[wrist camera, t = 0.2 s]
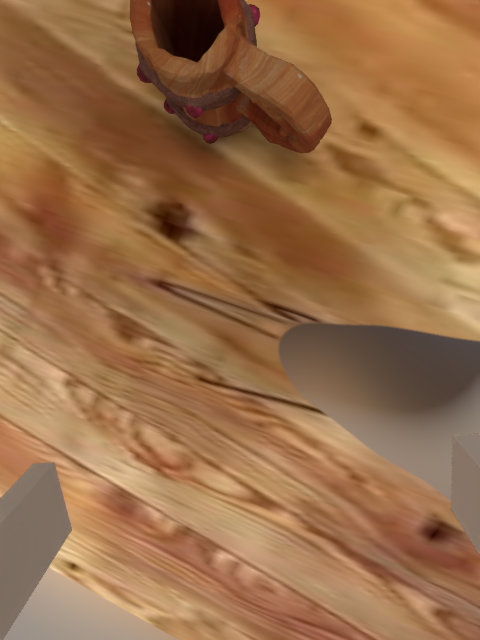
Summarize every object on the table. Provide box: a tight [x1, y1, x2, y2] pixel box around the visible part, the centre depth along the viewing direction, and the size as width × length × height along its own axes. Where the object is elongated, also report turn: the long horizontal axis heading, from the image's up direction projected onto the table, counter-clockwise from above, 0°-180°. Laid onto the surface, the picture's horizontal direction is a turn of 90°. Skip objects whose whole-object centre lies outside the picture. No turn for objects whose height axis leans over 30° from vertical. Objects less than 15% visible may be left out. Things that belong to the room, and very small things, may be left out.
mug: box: [130, 0, 332, 153], centre depth 28 cm, size 15×8×15 cm, turn 55°
